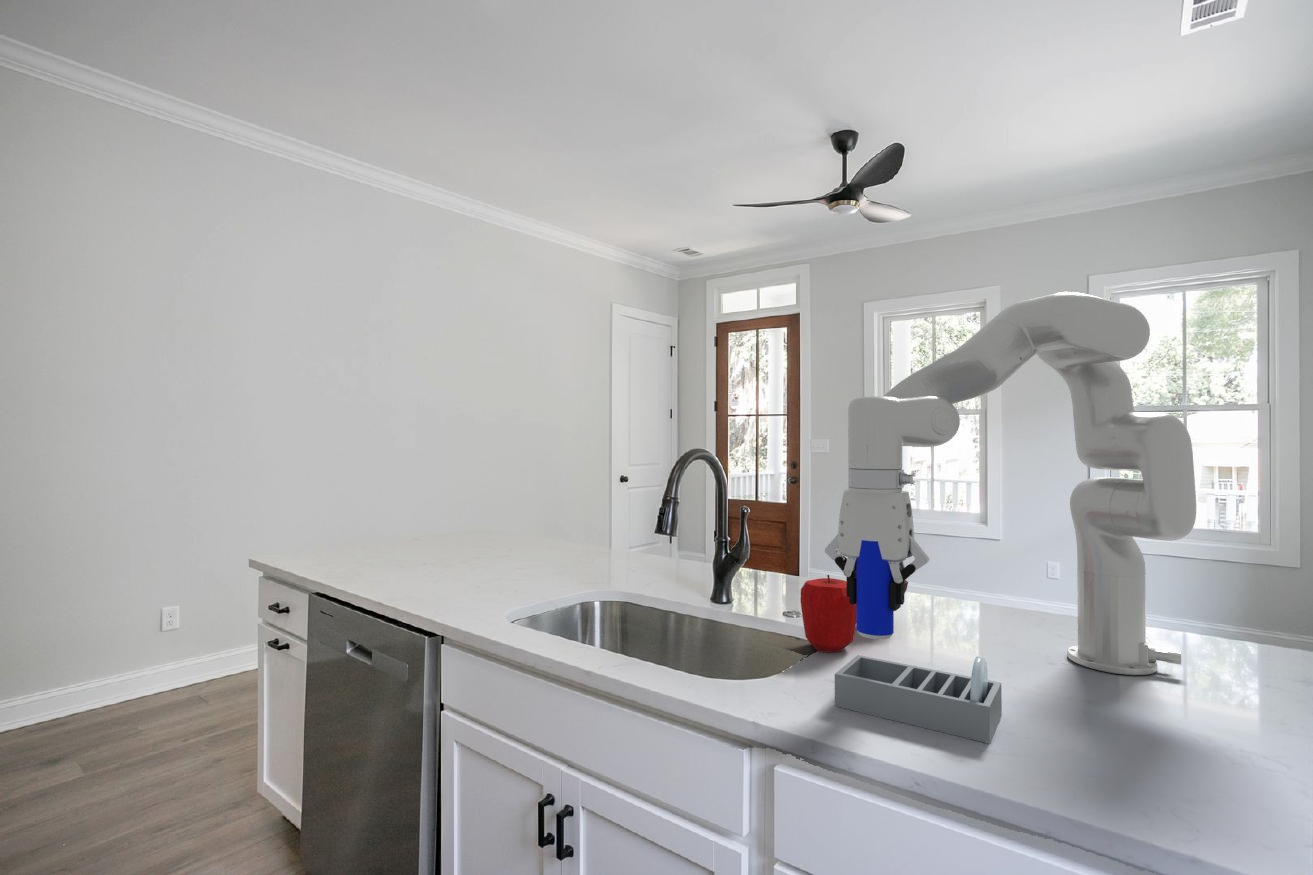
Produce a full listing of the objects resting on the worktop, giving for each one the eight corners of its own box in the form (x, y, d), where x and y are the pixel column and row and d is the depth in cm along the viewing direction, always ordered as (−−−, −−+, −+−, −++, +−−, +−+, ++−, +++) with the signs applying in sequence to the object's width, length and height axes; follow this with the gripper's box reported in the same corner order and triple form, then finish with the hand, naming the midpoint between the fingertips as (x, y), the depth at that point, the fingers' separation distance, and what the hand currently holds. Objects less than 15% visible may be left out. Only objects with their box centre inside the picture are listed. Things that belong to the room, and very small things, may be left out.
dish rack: (1001, 715, 90) (1001, 682, 90) (989, 743, 82) (989, 706, 82) (857, 684, 101) (857, 654, 101) (834, 705, 93) (834, 673, 93)
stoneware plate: (987, 708, 90) (987, 650, 90) (977, 729, 83) (977, 666, 83) (981, 707, 90) (981, 649, 90) (970, 727, 84) (970, 665, 84)
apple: (857, 660, 112) (857, 582, 112) (797, 654, 116) (796, 577, 116) (860, 642, 122) (860, 570, 122) (805, 637, 126) (804, 567, 126)
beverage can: (893, 631, 96) (893, 530, 96) (893, 641, 91) (893, 535, 92) (857, 628, 98) (856, 528, 98) (855, 638, 93) (855, 533, 93)
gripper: (943, 482, 93) (943, 609, 93) (827, 478, 103) (827, 592, 103) (930, 485, 87) (930, 621, 87) (809, 480, 97) (809, 602, 97)
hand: (874, 604), depth 95 cm, fingers closed on beverage can, 5 cm apart
